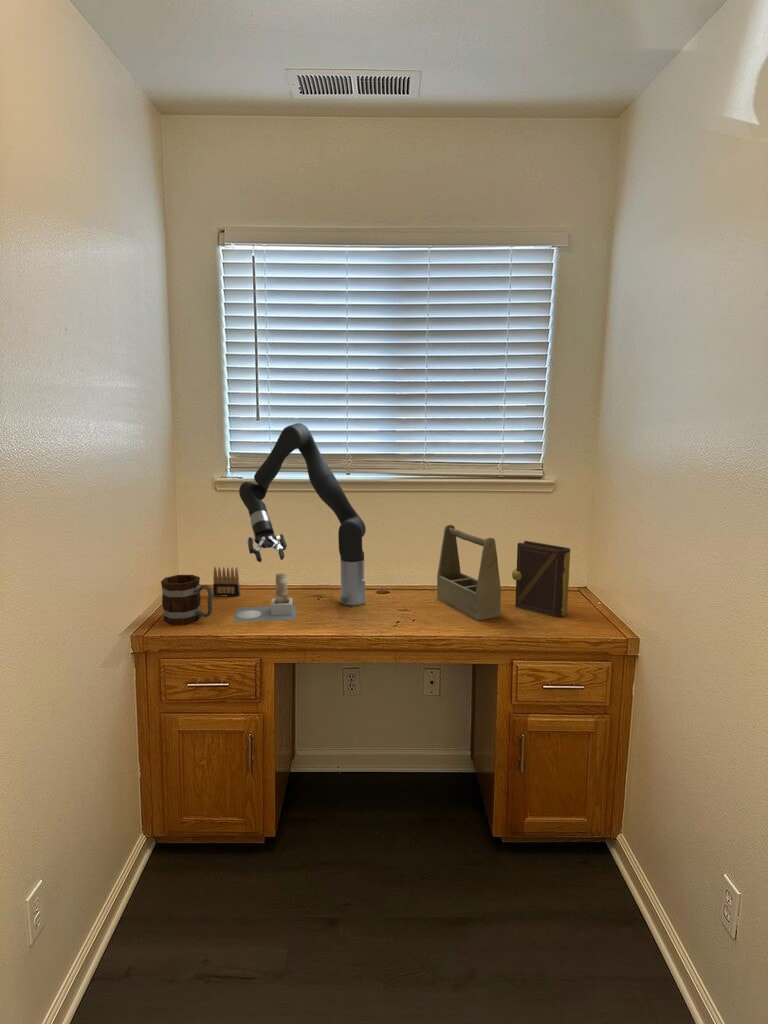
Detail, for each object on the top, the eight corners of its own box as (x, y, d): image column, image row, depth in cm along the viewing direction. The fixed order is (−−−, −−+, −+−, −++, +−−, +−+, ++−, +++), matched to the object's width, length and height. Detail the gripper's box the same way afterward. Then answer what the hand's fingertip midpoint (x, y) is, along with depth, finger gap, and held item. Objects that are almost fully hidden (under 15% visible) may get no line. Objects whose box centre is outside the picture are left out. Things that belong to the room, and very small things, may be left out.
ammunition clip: (240, 595, 268) (239, 566, 266) (239, 596, 266) (238, 567, 264) (214, 594, 269) (213, 566, 267) (213, 596, 267) (211, 567, 265)
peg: (287, 609, 245) (286, 573, 242) (287, 613, 241) (286, 576, 238) (276, 610, 244) (275, 573, 242) (276, 613, 240) (275, 576, 238)
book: (570, 613, 245) (573, 548, 241) (559, 619, 239) (562, 552, 235) (518, 601, 260) (521, 539, 256) (507, 606, 254) (509, 542, 250)
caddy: (436, 599, 263) (437, 525, 258) (459, 595, 267) (460, 523, 262) (476, 621, 237) (478, 539, 232) (501, 617, 241) (503, 537, 236)
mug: (154, 623, 235) (152, 582, 232) (178, 611, 247) (176, 573, 245) (201, 629, 228) (199, 588, 226) (223, 617, 241) (222, 577, 238)
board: (296, 609, 250) (295, 595, 249) (295, 623, 235) (295, 608, 234) (237, 611, 248) (236, 597, 247) (232, 625, 232) (232, 610, 231)
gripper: (245, 521, 252) (254, 556, 244) (281, 518, 258) (291, 552, 250) (242, 532, 257) (251, 567, 249) (277, 528, 264) (287, 563, 256)
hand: (271, 560), depth 250 cm, fingers open, 8 cm apart
